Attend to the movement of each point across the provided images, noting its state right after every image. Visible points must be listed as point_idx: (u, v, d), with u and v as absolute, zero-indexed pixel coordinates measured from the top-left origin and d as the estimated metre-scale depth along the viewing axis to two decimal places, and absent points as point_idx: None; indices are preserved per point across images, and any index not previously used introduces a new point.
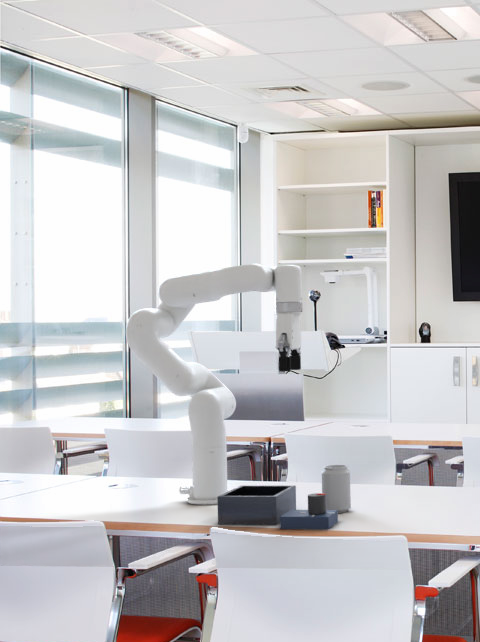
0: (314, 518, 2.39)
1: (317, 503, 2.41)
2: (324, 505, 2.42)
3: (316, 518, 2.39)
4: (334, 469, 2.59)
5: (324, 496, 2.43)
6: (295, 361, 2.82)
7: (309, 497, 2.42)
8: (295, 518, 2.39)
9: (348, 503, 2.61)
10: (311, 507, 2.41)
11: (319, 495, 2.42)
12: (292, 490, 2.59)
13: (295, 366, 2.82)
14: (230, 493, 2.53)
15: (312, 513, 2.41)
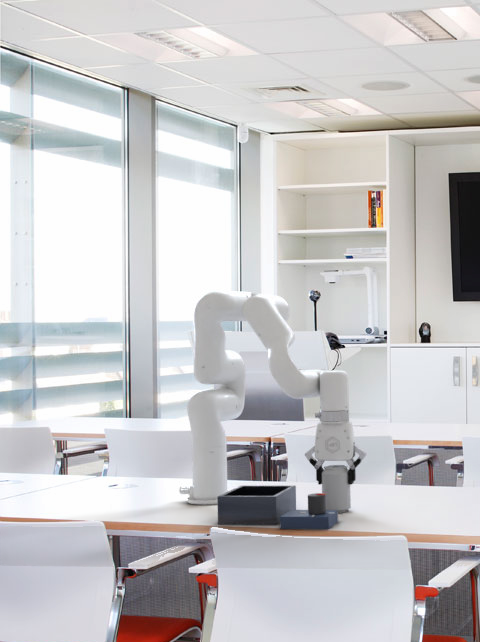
0: (314, 518, 2.39)
1: (317, 503, 2.41)
2: (324, 505, 2.42)
3: (316, 518, 2.39)
4: (334, 469, 2.59)
5: (324, 496, 2.43)
6: None
7: (309, 497, 2.42)
8: (295, 518, 2.39)
9: (348, 503, 2.61)
10: (311, 507, 2.41)
11: (319, 495, 2.42)
12: (292, 490, 2.59)
13: None
14: (230, 493, 2.53)
15: (312, 513, 2.41)
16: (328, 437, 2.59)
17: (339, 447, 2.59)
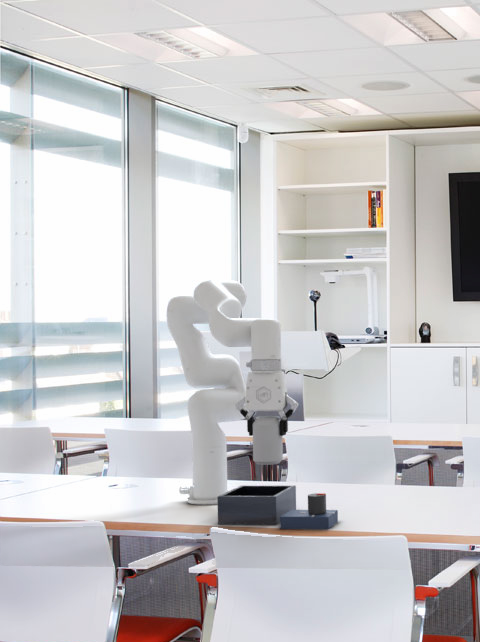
0: (314, 518, 2.39)
1: (317, 503, 2.41)
2: (324, 505, 2.42)
3: (316, 518, 2.39)
4: (265, 420, 2.52)
5: (324, 496, 2.43)
6: None
7: (309, 497, 2.42)
8: (295, 518, 2.39)
9: (280, 455, 2.54)
10: (311, 507, 2.41)
11: (319, 495, 2.42)
12: (292, 490, 2.59)
13: None
14: (230, 493, 2.53)
15: (312, 513, 2.41)
16: (259, 387, 2.52)
17: (270, 397, 2.52)
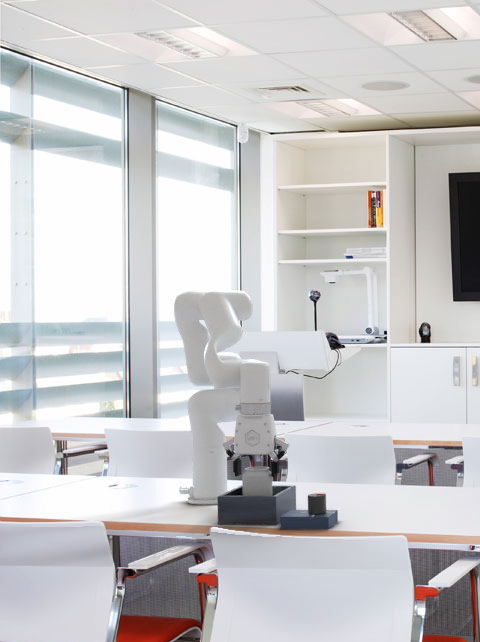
0: (314, 518, 2.39)
1: (317, 503, 2.41)
2: (324, 505, 2.42)
3: (316, 518, 2.39)
4: (254, 471, 2.51)
5: (324, 496, 2.43)
6: (239, 466, 2.55)
7: (309, 497, 2.42)
8: (295, 518, 2.39)
9: None
10: (311, 507, 2.41)
11: (319, 495, 2.42)
12: (292, 490, 2.59)
13: (239, 471, 2.55)
14: (230, 493, 2.53)
15: (312, 513, 2.41)
16: (248, 430, 2.52)
17: (259, 441, 2.51)
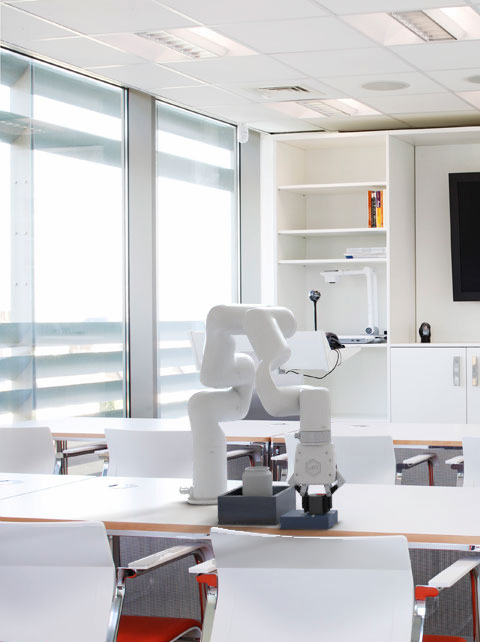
0: (314, 518, 2.39)
1: (317, 503, 2.41)
2: None
3: (316, 518, 2.39)
4: (254, 471, 2.51)
5: (324, 496, 2.43)
6: None
7: (309, 497, 2.42)
8: (295, 518, 2.39)
9: None
10: (311, 507, 2.41)
11: (319, 495, 2.42)
12: (292, 490, 2.59)
13: None
14: (230, 493, 2.53)
15: (312, 513, 2.41)
16: (308, 459, 2.41)
17: (320, 470, 2.40)
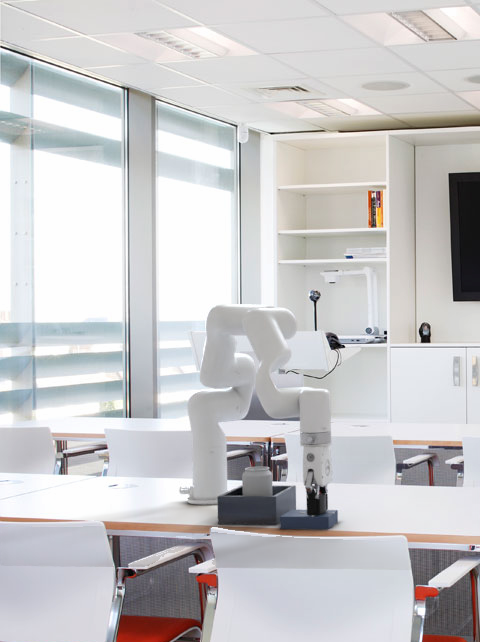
0: (314, 518, 2.39)
1: None
2: None
3: (316, 518, 2.39)
4: (254, 471, 2.51)
5: None
6: None
7: (321, 497, 2.42)
8: (295, 518, 2.39)
9: None
10: (324, 507, 2.42)
11: (322, 494, 2.44)
12: (292, 490, 2.59)
13: None
14: (230, 493, 2.53)
15: (324, 512, 2.43)
16: (326, 460, 2.42)
17: (329, 469, 2.45)
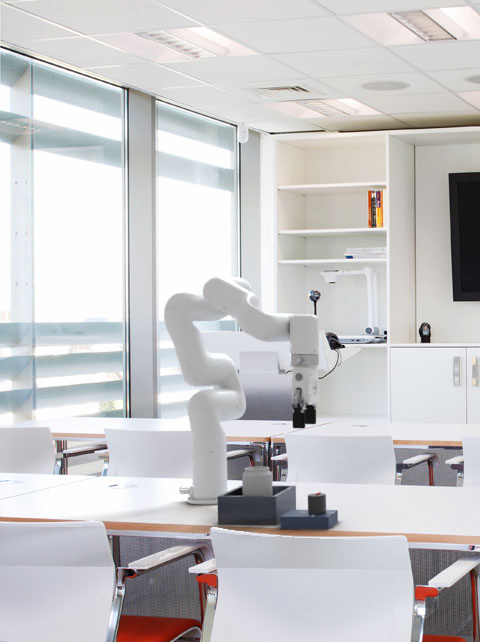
0: (314, 518, 2.39)
1: None
2: None
3: (316, 518, 2.39)
4: (254, 471, 2.51)
5: None
6: None
7: (321, 497, 2.42)
8: (295, 518, 2.39)
9: None
10: (324, 507, 2.42)
11: (322, 494, 2.44)
12: (292, 490, 2.59)
13: None
14: (230, 493, 2.53)
15: (324, 512, 2.43)
16: (313, 380, 2.59)
17: (316, 390, 2.62)
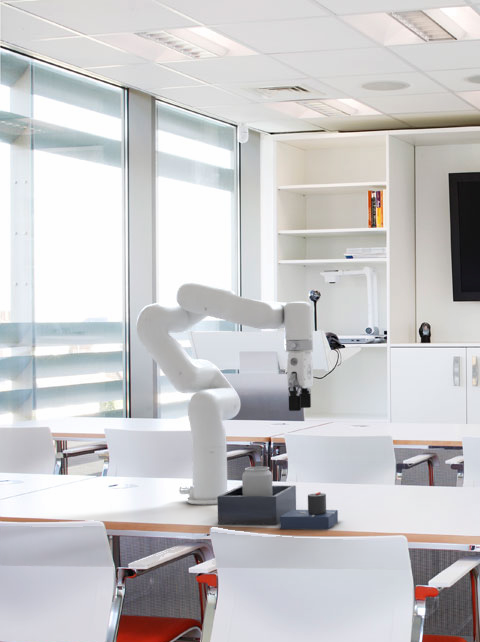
0: (314, 518, 2.39)
1: None
2: None
3: (316, 518, 2.39)
4: (254, 471, 2.51)
5: None
6: None
7: (321, 497, 2.42)
8: (295, 518, 2.39)
9: None
10: (324, 507, 2.42)
11: (322, 494, 2.44)
12: (292, 490, 2.59)
13: None
14: (230, 493, 2.53)
15: (324, 512, 2.43)
16: (308, 365, 2.71)
17: (311, 374, 2.73)
